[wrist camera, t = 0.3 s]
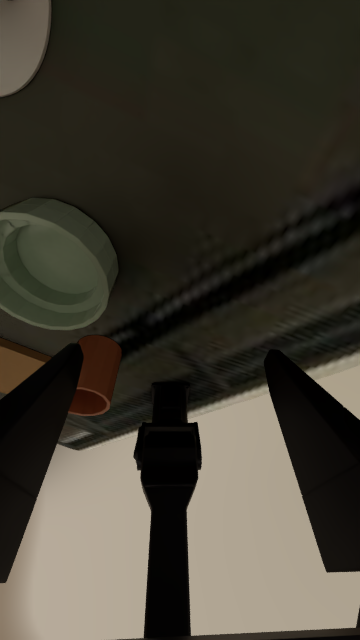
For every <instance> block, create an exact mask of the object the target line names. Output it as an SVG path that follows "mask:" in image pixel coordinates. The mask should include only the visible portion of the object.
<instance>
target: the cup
mask: <svg viewBox="0 0 360 640" xmlns="http://www.w3.org/2000/svg"><path fill="white" fill-rule="evenodd" d="M77 343H79V344H80V346H81V349H82V352H83V355H84V360H83V364H82V368H81V373H80V377H79V381H78V385H77V389H76V392H75V395H74V398H73V401H72V403H71V406H70V409H69V412H68V413H72V414H76V415H82V416H94V415H98V414H103V413H104V412H106V411H107V410H108V409H109V408H110V404H111V400H112V395H113V391H114V387H115V383H116V378H117V374H118V370H119V365H120V361H121V356H122V350H121V348H120V346H119V345H118V344H117V343H116V342H115V341H113V340H112V339H110V338H107V337H104V336H99V335H89V336H85V337H83V338H81V339H80V340H79V341H78V342H77Z"/></svg>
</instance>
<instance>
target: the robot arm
mask: <svg viewBox="0 0 360 640" xmlns="http://www.w3.org/2000/svg"><path fill="white" fill-rule="evenodd" d="M83 360H84V355H83V352H82V349H81V346H80V344H79V343H70V344H68V345H67V346H66V347H64V348H63V349H62V350H61V351H60V352H58V353H57V354H56V355H55V356H53V357H52V358H51V359H50V360H49V361H47V362H46V363H45V364H44V365H42V366H41V367H40V368H39V369H37V370H36V371H35V372H34V373H33V374H31V375H30V376H29V377H28V378H26V379H25V380H24V381H23V382H22V383H20V384H19V385H18V386H17V387H15V388H14V389H13V390H12V391H11V392H9V393H8V394H7V395H6V396H4V397H3V398H2V399H1V400H0V583H5V582H6V581H7V579H8V576H9V573H10V571H11V568H12V566H13V563H14V560H15V557H16V555H17V552H18V549H19V546H20V544H21V541H22V538H23V535H24V532H25V530H26V527H27V524H28V522H29V519H30V516H31V513H32V511H33V508H34V505H35V502H36V500H37V499H36V498H37V497H38V494H39V491H40V488H41V486H42V483H43V480H44V477H45V475H46V472H47V469H48V466H49V464H50V461H51V458H52V455H53V453H54V450H55V447H56V445H57V442H58V439H59V436H60V434H61V431H62V428H63V425H64V423H65V420H66V417H67V414H68V412H69V409H70V406H71V403H72V401H73V398H74V395H75V392H76V389H77V385H78V381H79V377H80V373H81V368H82V364H83ZM264 367H265V372H266V377H267V382H268V387H269V392H270V396H271V399H272V402H273V405H274V409H275V412H276V415H277V418H278V421H279V424H280V427H281V431H282V434H283V437H284V440H285V443H286V447H287V449H288V453H289V456H290V459H291V462H292V466H293V469H294V472H295V475H296V478H297V481H298V484H299V488H300V490H301V494H302V495H303V496H302V498H303V500H304V504H305V507H306V510H307V513H308V516H309V520H310V523H311V526H312V529H313V532H314V535H315V539H316V542H317V545H318V548H319V551H320V554H321V557H322V561H323V564H324V567H325V569H326V572H356V571H360V420H359V419H358V418H357V417H355V416H354V415H353V414H352V413H351V412H350V411H349V410H347V409H346V408H345V407H343V405H342V404H340V403H339V402H338V401H337V400H336V399H335V398H334V397H332V396H331V395H330V394H329V393H328V392H327V391H325V390H324V389H323V388H322V387H321V386H320V385H319V384H317V383H316V382H315V381H314V380H313V379H312V378H311V377H310V376H308V375H307V374H306V373H305V372H304V371H303V370H302V369H300V368H299V367H298V366H297V365H296V364H295V363H294V362H292V361H291V360H290V359H289V358H288V357H287V356H285V355H284V354H283V353H282V352H281V351H280V350H273V349H271V350H269V352H268V354H267V356H266V358H265V360H264ZM189 390H190V384H181V383H152V404H153V416H152V423H146V422H142V426H141V427H139V429H138V437H137V443H136V446H135V450H134V459H135V460H136V463H137V470H141V483H142V488H143V492H144V494H145V497H146V499H147V502H148V504H149V507H150V509H151V526H150V542H149V560H148V575H147V592H146V609H145V626H144V638H140V639H119V640H360V608H359V614H358V620H357V626H356V628H343V629H322V630H304V631H303V630H302V631H283V632H282V631H281V632H261V633H241V634H220V635H200V636H191V628H190V599H189V573H188V570H189V569H188V542H187V512H186V510H187V507H188V505H189V502H190V500H191V497H192V495H193V492H194V490H195V487H196V483H197V480H198V470H200V469H201V464H202V462H201V460H202V456H201V444H200V437H199V430H198V423H197V422H194V423H188V420H187V402H188V396H189Z"/></svg>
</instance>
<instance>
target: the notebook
mask: <svg viewBox="0 0 360 640" xmlns="http://www.w3.org/2000/svg"><path fill="white" fill-rule="evenodd" d="M51 358H52V357H50V356H47V355H44V354H42V353H39V352H37V351H34V350H31V349H29V348H26V347H24V346H21V345H18V344H16V343H13V342H11V341H8V340H5V339H3V338H0V392H2V393H6V394H8V393H9V392H11V391H12V390H13V389H14V388H15V387H17V386H18V385H19V384H20V383H22V382H23V381H24V380H25V379H26V378H28V377H29V376H30V375H31V374H33V373H34V372H35V371H36V370H37V369H39V368H40V367H41V366H42V365H44V364H45V363H46V362H47V361H49V360H50V359H51Z"/></svg>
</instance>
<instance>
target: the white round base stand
mask: <svg viewBox="0 0 360 640" xmlns="http://www.w3.org/2000/svg"><path fill="white" fill-rule="evenodd" d="M50 27H51V0H0V97H5V96H9V95H11V94H14V93H16V92H18V91H20V90H21V89H23V88H24V87H25V86H26V85H27V84H29V82H30V81H31V80H32V79H33V78H34V76H35V75H36V73H37V72H38V70H39V68H40V66H41V64H42V61H43V59H44V56H45V53H46V50H47V45H48V41H49V35H50Z"/></svg>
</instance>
